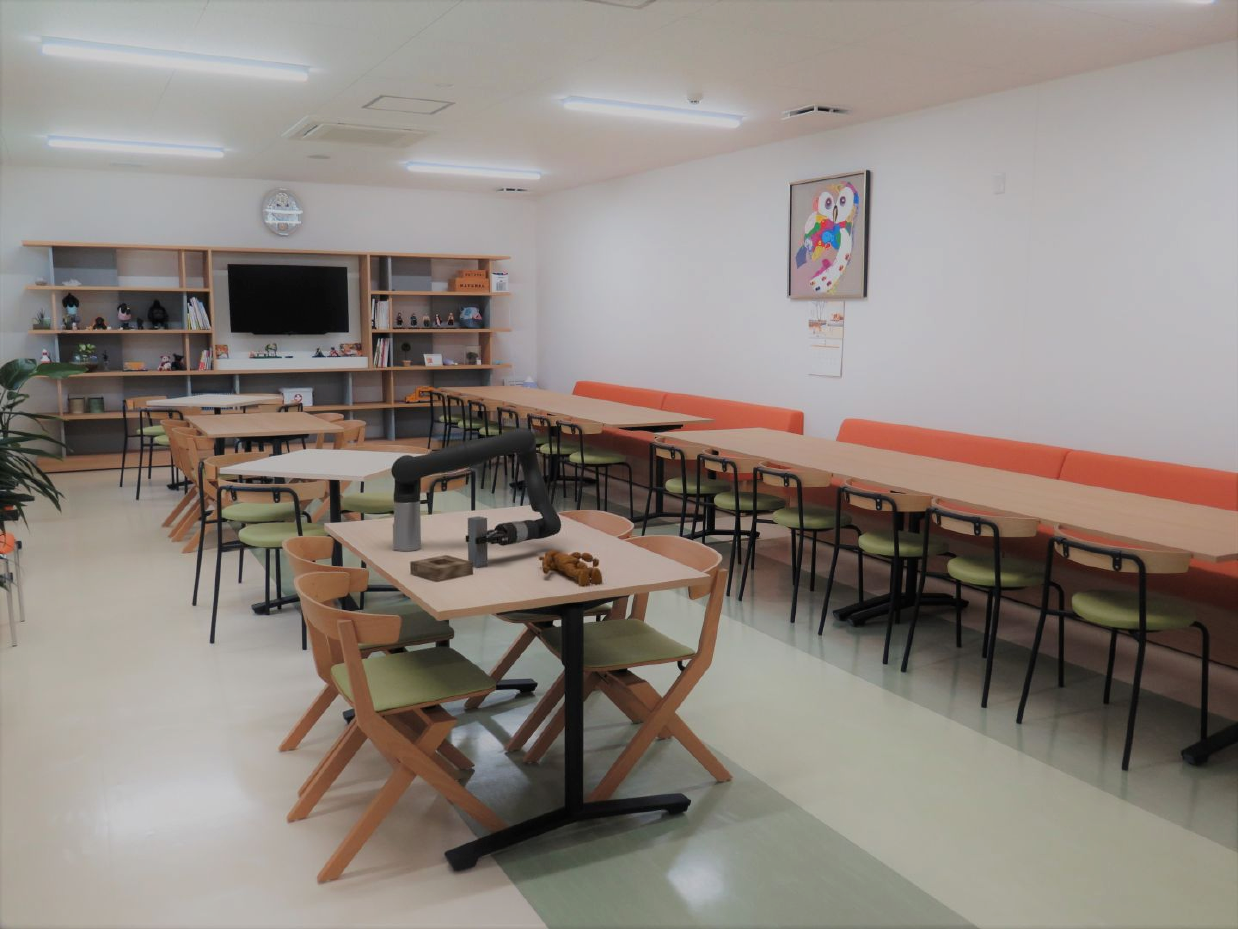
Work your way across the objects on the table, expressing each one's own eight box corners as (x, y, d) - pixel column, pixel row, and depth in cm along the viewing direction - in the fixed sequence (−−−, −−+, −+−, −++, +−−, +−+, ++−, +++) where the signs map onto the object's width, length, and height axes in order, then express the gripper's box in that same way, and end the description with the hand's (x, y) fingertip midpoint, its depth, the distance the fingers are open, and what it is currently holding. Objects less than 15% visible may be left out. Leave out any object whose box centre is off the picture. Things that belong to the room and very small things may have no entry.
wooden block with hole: (436, 581, 302) (436, 569, 302) (410, 574, 312) (410, 561, 311) (472, 574, 312) (472, 562, 312) (446, 567, 322) (446, 555, 321)
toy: (619, 585, 305) (573, 562, 330) (619, 563, 304) (574, 542, 329) (562, 593, 295) (520, 569, 320) (562, 571, 294) (520, 548, 319)
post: (476, 567, 321) (476, 519, 319) (468, 565, 324) (467, 518, 322) (487, 565, 324) (487, 518, 322) (479, 563, 327) (478, 516, 325)
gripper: (497, 519, 338) (457, 525, 325) (524, 525, 328) (484, 531, 316) (497, 540, 339) (457, 548, 326) (525, 547, 329) (484, 554, 317)
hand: (471, 540), depth 321 cm, fingers closed on post, 4 cm apart
